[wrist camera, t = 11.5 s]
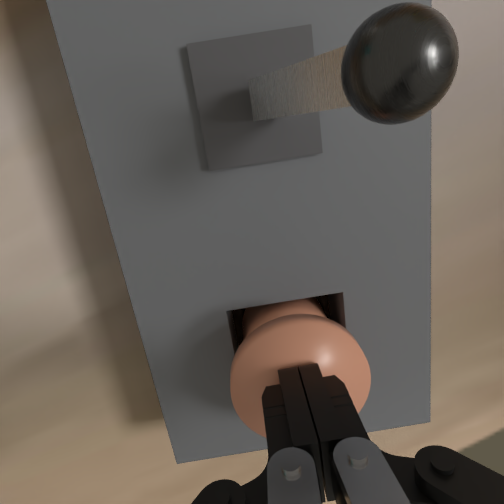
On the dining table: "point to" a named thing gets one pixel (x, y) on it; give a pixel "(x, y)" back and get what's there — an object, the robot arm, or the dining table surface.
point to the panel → (249, 199)
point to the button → (292, 354)
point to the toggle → (369, 70)
